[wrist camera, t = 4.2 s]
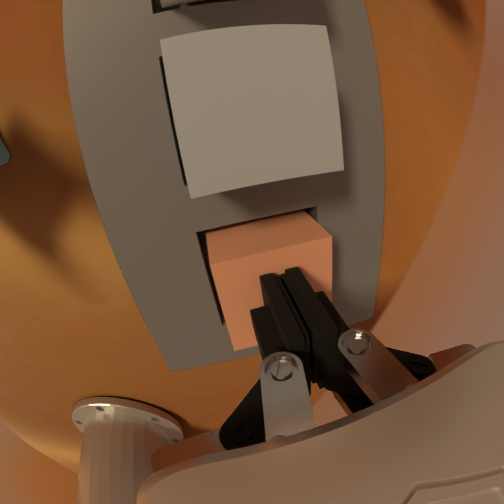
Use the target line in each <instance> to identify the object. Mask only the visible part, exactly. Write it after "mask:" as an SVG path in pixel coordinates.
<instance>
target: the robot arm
mask: <svg viewBox="0 0 504 504" xmlns="http://www.w3.org/2000/svg"><path fill="white" fill-rule="evenodd" d="M259 278H260V284H261V290H262V296H263V302H264V306H263V307H259V308H255V309H251V310H250V315H251V320H252V324H253V328H254V332H255V336H256V340H257V343H258V346H259V350H260V353H261V356H262V359H263V361H262V363H261V365H260V379H259V380H258V381H257V383H256V384H255V385H254V387H253V388H252V389H251V390H250V392H249V393H248V394H247V396H246V397H245V398H244V399H243V401H242V402H241V403H240V404H239V406H238V407H237V408H236V409H235V411H234V412H233V413H232V414H231V415H230V417H229V418H228V419H227V420H226V421H225V423H224V424H223V425H222V427H221V428H220V429H218V430H215V431H213V432H210V431H207V432H204V433H201V434H198V435H196V436H193V437H190V438H187V439H184V440H183V429H182V426H181V424H180V423H179V422H178V421H177V420H176V419H175V418H173V417H172V416H171V415H169V414H167V413H166V412H164V411H162V410H160V409H157V408H155V407H153V406H150V405H147V404H143V403H140V402H136V401H132V400H128V399H121V398H114V397H93V398H87V399H84V400H81V401H79V402H78V403H76V404H75V406H74V408H73V413H72V420H73V422H74V424H75V426H76V427H77V428H78V429H79V430H80V431H81V432H82V433H83V438H82V446H81V455H80V466H79V479H78V501H77V502H78V504H504V341H495V342H490V343H487V344H484V345H482V346H479V347H477V348H476V347H474V346H473V345H470V344H462V345H459V346H456V347H453V348H450V349H447V350H443V351H440V352H437V353H433V354H430V355H429V357H425V356H422V355H418V354H413V353H409V352H405V351H400V350H396V349H392V348H388V347H385V346H384V345H383V344H382V343H381V342H380V341H379V340H378V339H377V338H376V337H375V336H374V335H373V334H372V333H370V332H369V331H366V330H364V329H351V330H350V329H349V328H348V326H347V325H346V323H345V322H344V320H343V319H342V317H341V316H340V314H339V313H338V311H337V310H336V309H335V307H334V306H333V304H332V303H331V301H330V300H329V298H328V297H327V295H326V294H325V293H324V292H323V291H319V292H314V290H313V289H312V287H311V285H310V284H309V282H308V281H307V279H306V278H305V276H304V275H303V273H302V272H301V270H300V269H299V267H293V268H289V269H285V273H283V274H281V280H280V278H279V276H278V275H273V273H268V274H264V275H260V276H259ZM281 281H282V282H281ZM311 381H312V383H313V384H314V383H317V384H318V386H319V388H320V389H321V388H324V387H325V388H326V389H327V390H330V391H333V395H334V397H335V398H336V400H337V401H338V403H339V404H340V405H341V407H342V408H343V410H344V411H345V412H346V414H347V415H348V416H346V417H343V418H341V419H338V420H335V421H333V422H330V423H327V424H325V425H322V426H319V427H316V424H315V419H314V415H313V410H312V405H311V401H310V395H311Z"/></svg>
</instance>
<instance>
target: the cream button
mask: <svg viewBox="0 0 504 504" xmlns="http://www.w3.org/2000/svg"><path fill="white" fill-rule="evenodd" d="M196 1H202V0H160V2H161V6H162V8H165V7H169V6H174V5H179V4H184V3H190V2H196Z"/></svg>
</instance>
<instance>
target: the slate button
mask: <svg viewBox="0 0 504 504" xmlns="http://www.w3.org/2000/svg"><path fill="white" fill-rule="evenodd" d="M160 44H161V51H162V57H163V63H164V69H165V75H166V81H167V87H168V92H169V98H170V103H171V109H172V114H173V119H174V124H175V129H176V134H177V139H178V143H179V148H180V153H181V158H182V162H183V167H184V171H185V176H186V180H187V184H188V189H189V193H190V197H191V199H193V198H197V197H201V196H206V195H210V194H215V193H219V192H224V191H228V190H233V189H238V188H243V187H248V186H253V185H258V184H263V183H268V182H274V181H279V180H285V179H290V178H296V177H302V176H308V175H315V174H321V173H328V172H335V171H342V170H344V162H343V147H342V134H341V123H340V113H339V104H338V96H337V88H336V81H335V74H334V67H333V61H332V55H331V49H330V44H329V38H328V33H327V28H326V26H323V25H305V24H268V25H249V26H237V27H227V28H219V29H212V30H205V31H199V32H193V33H188V34H183V35H178V36H173V37H169V38H165V39H161V40H160Z"/></svg>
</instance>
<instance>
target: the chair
mask: <svg viewBox="0 0 504 504" xmlns="http://www.w3.org/2000/svg"><path fill="white" fill-rule="evenodd" d="M9 158H10V154H9V152H8V150H7V148H6V147H5V145H4V143H3V142H2V140H1V138H0V165H2V164H5V163H7V162H8V161H9Z"/></svg>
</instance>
